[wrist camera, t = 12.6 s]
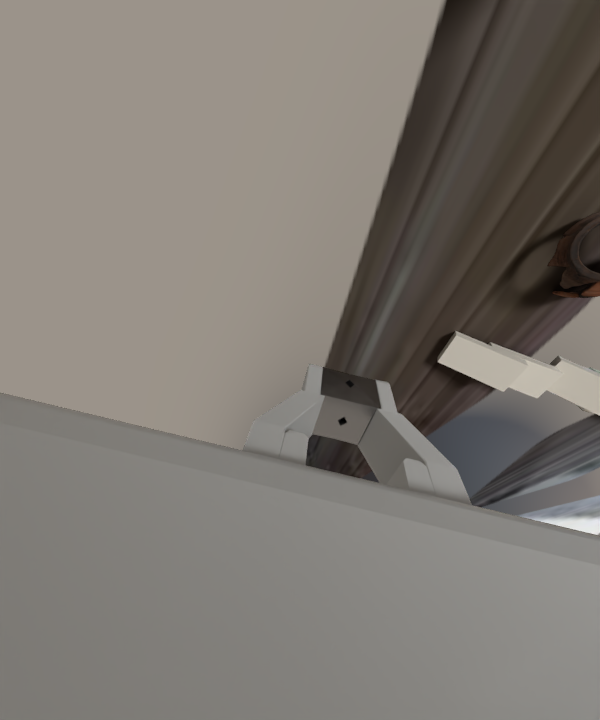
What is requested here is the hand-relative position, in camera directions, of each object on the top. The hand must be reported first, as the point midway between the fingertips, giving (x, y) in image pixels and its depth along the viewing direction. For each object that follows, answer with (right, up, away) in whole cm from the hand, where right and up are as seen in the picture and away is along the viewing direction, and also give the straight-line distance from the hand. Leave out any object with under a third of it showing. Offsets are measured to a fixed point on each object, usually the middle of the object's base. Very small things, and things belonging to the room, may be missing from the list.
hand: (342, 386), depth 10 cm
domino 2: (+27, +1, +31) cm, 41 cm away
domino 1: (+21, +3, +31) cm, 37 cm away
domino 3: (+37, -1, +31) cm, 48 cm away
